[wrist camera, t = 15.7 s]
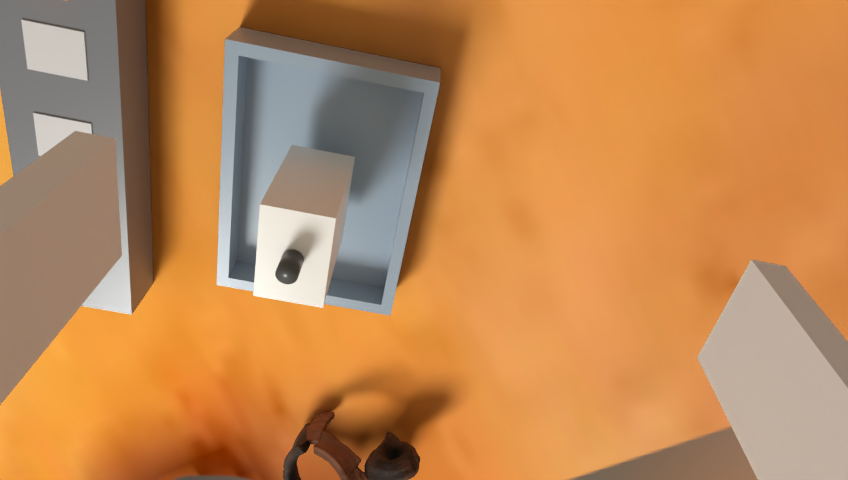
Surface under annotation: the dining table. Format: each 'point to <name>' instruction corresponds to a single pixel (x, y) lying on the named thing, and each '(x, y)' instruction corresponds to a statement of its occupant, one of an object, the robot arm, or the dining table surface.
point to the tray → (328, 131)
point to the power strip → (85, 110)
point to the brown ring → (352, 455)
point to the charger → (302, 226)
